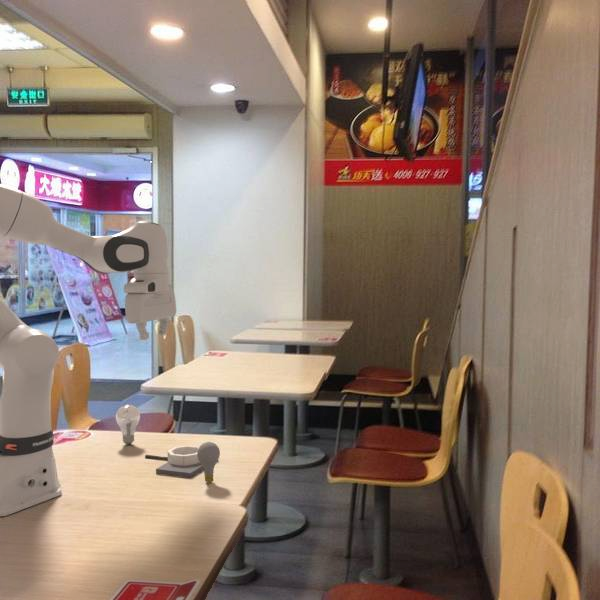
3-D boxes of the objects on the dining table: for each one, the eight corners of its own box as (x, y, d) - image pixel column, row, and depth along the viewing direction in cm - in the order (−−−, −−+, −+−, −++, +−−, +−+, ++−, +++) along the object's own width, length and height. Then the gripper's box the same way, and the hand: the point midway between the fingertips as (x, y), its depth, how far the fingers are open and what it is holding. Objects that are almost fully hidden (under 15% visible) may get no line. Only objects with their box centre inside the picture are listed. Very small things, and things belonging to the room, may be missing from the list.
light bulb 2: (209, 477, 156) (209, 437, 156) (224, 481, 153) (224, 441, 152) (193, 483, 152) (192, 442, 151) (208, 488, 148) (207, 446, 148)
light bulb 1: (116, 449, 181) (115, 408, 180) (116, 442, 187) (115, 403, 187) (140, 447, 182) (140, 406, 182) (140, 440, 189) (139, 401, 188)
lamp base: (190, 477, 156) (190, 463, 156) (123, 469, 162) (122, 455, 162) (218, 459, 170) (217, 446, 170) (154, 452, 177) (154, 440, 176)
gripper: (160, 282, 173) (162, 332, 174) (119, 286, 153) (121, 342, 154) (181, 282, 171) (182, 332, 172) (142, 286, 152) (144, 342, 152)
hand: (153, 337), depth 163 cm, fingers open, 8 cm apart
